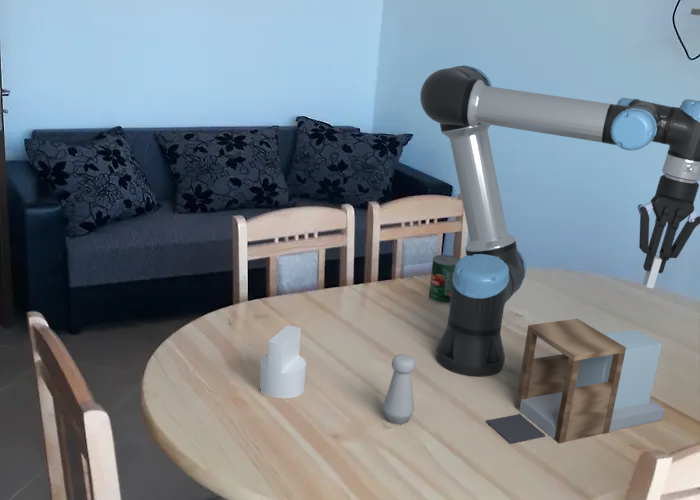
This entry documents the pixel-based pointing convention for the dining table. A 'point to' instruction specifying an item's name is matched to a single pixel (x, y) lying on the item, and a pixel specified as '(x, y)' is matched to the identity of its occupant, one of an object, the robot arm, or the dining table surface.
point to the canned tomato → (442, 278)
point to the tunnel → (571, 376)
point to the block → (625, 368)
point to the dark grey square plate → (515, 428)
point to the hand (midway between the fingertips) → (648, 285)
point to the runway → (548, 407)
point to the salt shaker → (400, 391)
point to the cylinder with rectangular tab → (283, 365)
